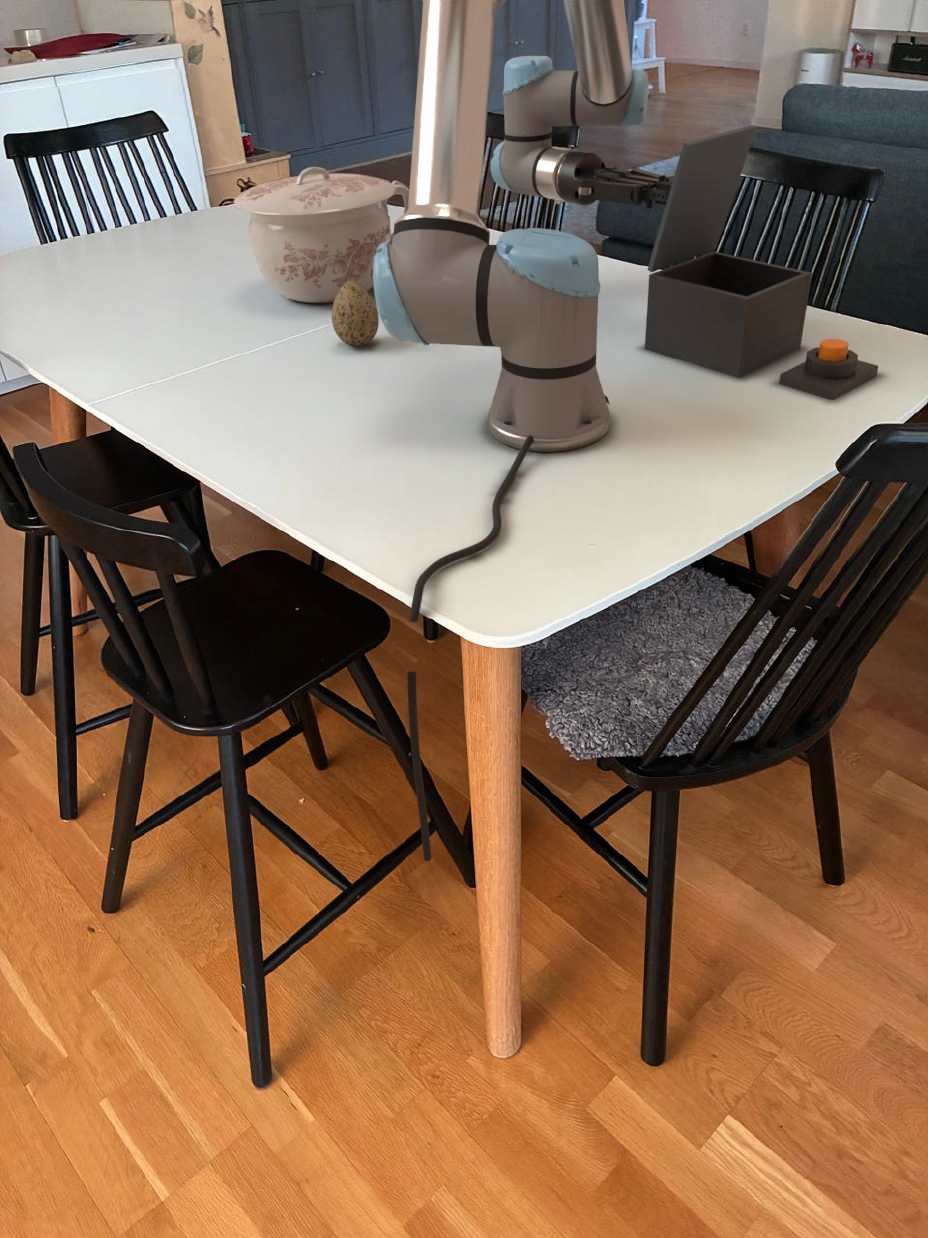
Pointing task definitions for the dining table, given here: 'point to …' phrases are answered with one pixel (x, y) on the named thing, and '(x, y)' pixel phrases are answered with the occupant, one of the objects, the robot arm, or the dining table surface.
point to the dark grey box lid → (700, 196)
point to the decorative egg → (354, 315)
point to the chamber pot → (319, 230)
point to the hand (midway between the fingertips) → (695, 198)
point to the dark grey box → (726, 312)
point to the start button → (833, 350)
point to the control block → (828, 375)
